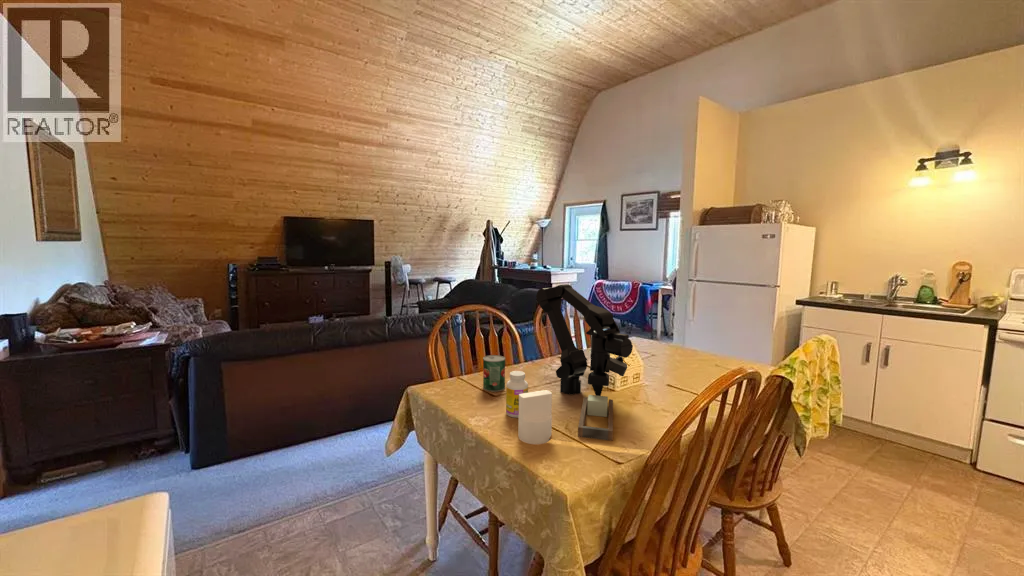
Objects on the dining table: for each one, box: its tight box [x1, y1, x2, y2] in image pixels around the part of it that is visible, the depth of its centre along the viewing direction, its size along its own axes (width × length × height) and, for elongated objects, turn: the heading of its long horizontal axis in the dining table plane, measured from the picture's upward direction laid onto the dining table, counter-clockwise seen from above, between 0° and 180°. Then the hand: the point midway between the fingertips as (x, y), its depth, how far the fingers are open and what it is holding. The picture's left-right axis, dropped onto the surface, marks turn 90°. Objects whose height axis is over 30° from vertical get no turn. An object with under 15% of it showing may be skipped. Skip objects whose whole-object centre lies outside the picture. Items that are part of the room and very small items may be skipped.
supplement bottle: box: [505, 370, 529, 419], centre depth 127 cm, size 7×7×13 cm
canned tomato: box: [482, 354, 506, 393], centre depth 150 cm, size 8×8×11 cm
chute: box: [577, 396, 614, 442], centre depth 121 cm, size 9×22×4 cm, turn 166°
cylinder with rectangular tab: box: [517, 389, 553, 445], centre depth 113 cm, size 9×9×12 cm
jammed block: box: [586, 394, 609, 418], centre depth 127 cm, size 6×5×4 cm
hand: (598, 397), depth 135 cm, fingers closed
